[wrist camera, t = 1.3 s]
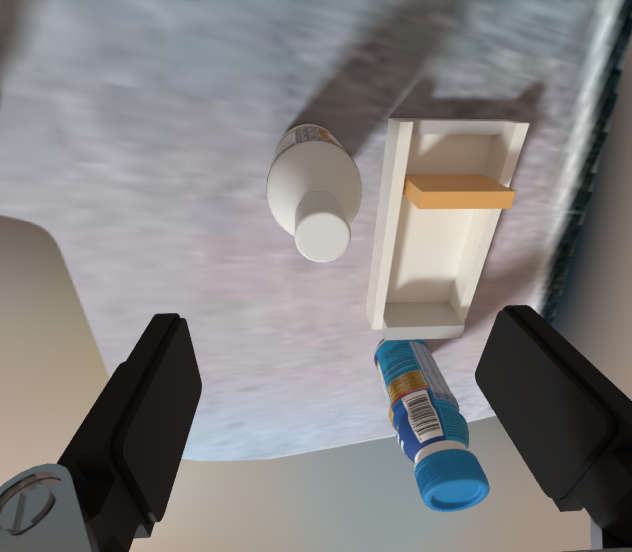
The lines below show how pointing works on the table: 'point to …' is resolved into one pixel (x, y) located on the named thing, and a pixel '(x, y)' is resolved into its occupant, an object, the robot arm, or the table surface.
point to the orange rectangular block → (456, 192)
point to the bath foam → (314, 191)
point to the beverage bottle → (429, 426)
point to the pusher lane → (434, 225)
